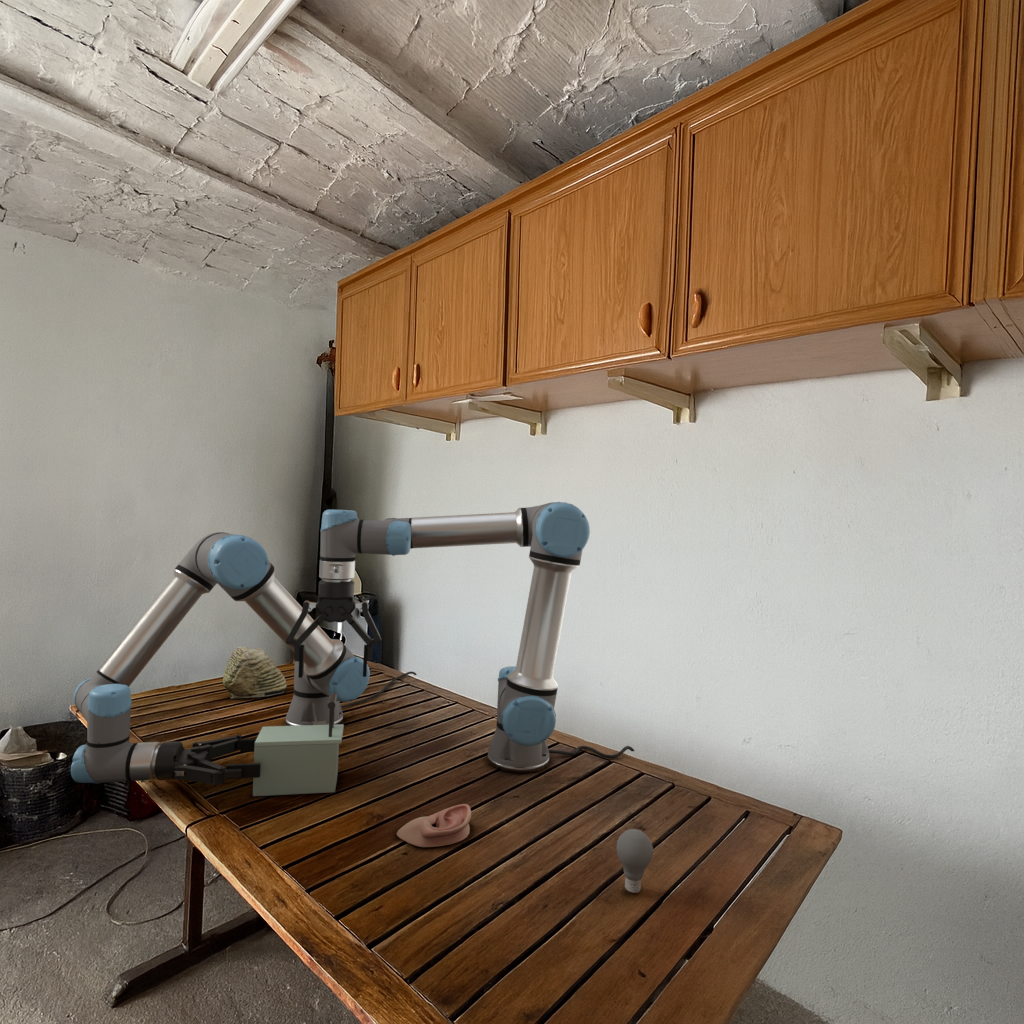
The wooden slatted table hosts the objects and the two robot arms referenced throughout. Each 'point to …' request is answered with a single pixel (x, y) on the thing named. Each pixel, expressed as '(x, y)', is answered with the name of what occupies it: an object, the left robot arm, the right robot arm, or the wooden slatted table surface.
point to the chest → (296, 769)
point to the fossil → (252, 674)
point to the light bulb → (634, 857)
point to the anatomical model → (438, 827)
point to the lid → (303, 732)
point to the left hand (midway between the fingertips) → (266, 756)
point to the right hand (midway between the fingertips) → (333, 675)
